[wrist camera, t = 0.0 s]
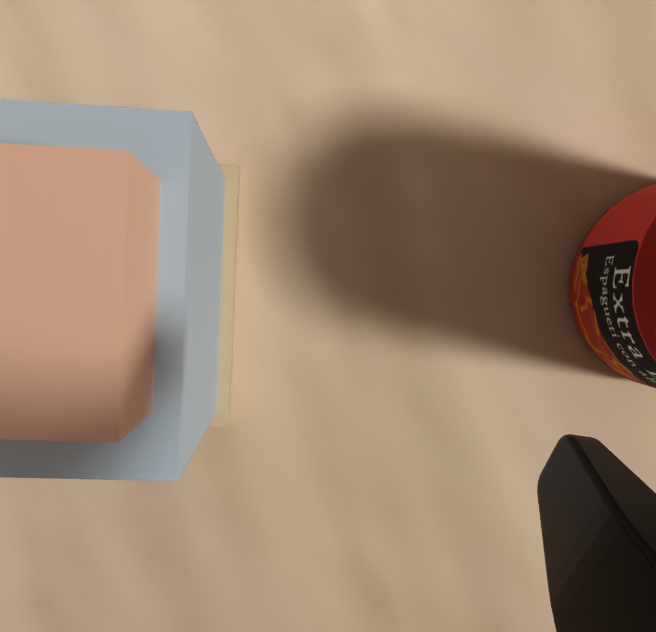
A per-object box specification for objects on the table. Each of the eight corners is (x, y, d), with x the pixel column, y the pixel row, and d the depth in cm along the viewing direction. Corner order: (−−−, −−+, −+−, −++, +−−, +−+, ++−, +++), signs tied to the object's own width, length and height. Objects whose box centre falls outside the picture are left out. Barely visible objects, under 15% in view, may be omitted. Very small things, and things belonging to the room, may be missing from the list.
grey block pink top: (230, 420, 23) (172, 558, 11) (72, 415, 23) (-165, 552, 11) (240, 172, 23) (193, 36, 11) (81, 162, 22) (-154, 10, 10)
